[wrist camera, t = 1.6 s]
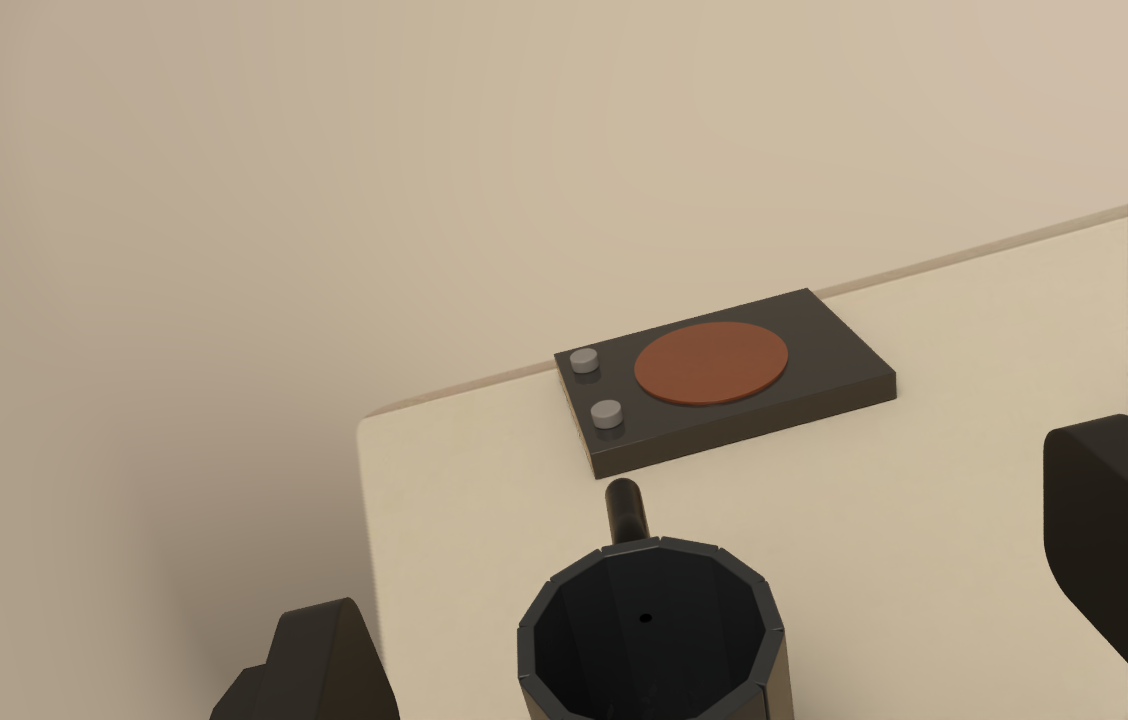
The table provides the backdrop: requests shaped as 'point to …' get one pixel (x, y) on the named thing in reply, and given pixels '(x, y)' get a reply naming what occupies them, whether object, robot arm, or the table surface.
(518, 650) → the pot
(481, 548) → the table surface
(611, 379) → the stove
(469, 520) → the table surface
